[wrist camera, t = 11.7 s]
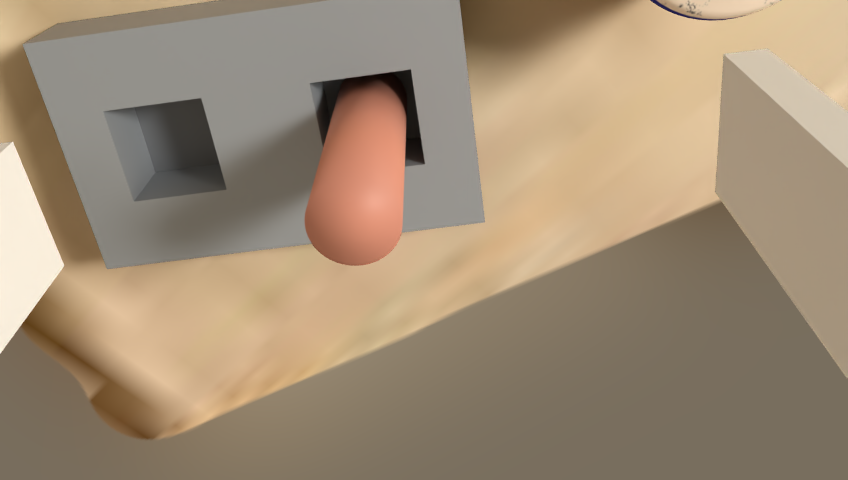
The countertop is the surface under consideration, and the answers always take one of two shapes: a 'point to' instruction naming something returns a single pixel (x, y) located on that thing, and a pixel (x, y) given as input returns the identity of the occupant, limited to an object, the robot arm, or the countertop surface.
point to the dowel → (361, 173)
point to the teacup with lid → (714, 8)
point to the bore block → (247, 117)
